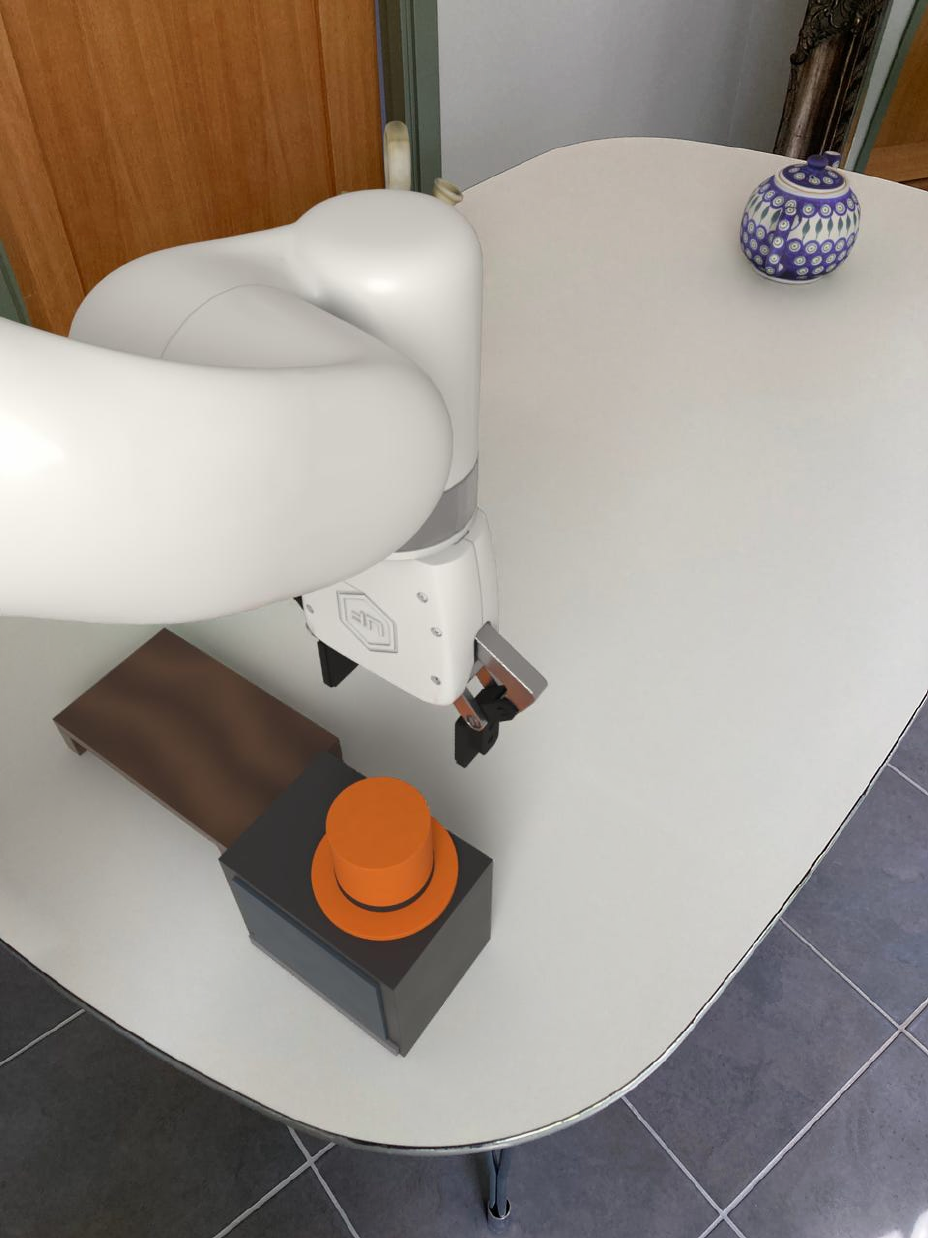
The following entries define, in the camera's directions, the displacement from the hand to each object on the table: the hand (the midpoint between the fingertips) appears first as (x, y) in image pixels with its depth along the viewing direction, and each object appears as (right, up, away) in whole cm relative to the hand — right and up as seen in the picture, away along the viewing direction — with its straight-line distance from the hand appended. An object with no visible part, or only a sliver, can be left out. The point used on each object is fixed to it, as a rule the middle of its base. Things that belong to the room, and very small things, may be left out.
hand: (408, 709), depth 56 cm
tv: (-3, -18, +12) cm, 22 cm away
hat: (-2, -10, +3) cm, 11 cm away
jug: (-4, +42, +65) cm, 77 cm away
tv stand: (-18, -6, +22) cm, 29 cm away
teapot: (+48, +54, +75) cm, 104 cm away
